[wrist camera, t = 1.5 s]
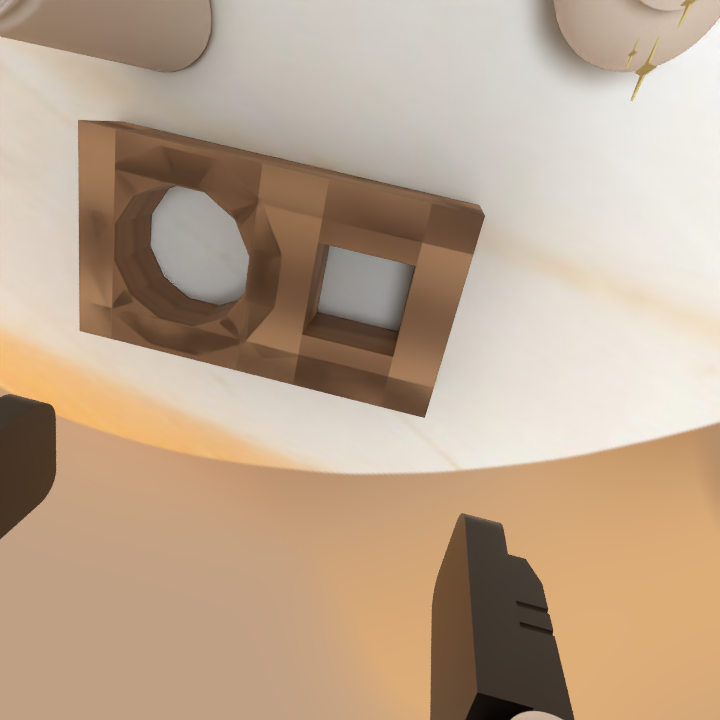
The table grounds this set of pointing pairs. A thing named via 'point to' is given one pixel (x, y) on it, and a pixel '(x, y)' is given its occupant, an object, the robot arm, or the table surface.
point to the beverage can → (114, 29)
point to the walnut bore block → (269, 264)
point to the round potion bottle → (634, 30)
